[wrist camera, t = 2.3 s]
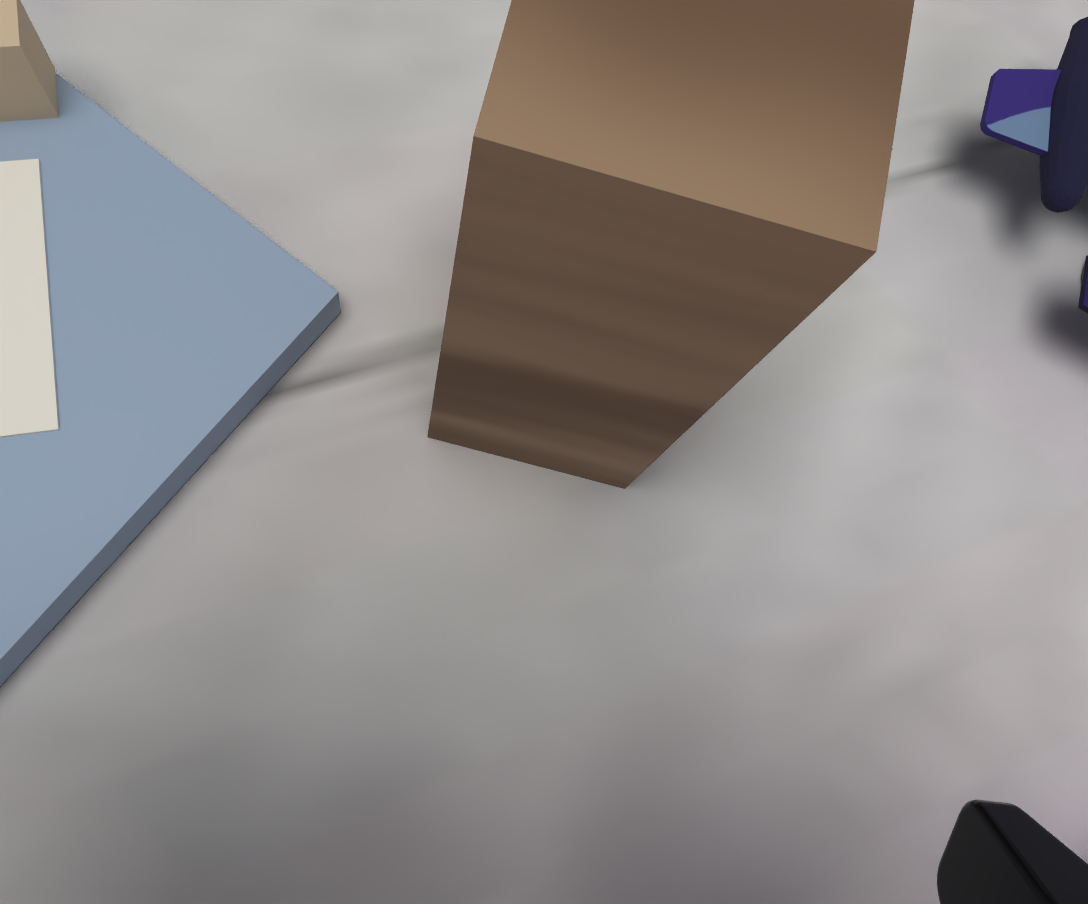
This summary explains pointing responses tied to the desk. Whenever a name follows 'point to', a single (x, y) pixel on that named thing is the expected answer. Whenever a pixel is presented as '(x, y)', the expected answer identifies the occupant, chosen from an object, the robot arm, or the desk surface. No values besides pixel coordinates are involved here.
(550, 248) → the block
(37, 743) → the desk surface
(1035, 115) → the toy airplane
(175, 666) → the desk surface
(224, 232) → the board
